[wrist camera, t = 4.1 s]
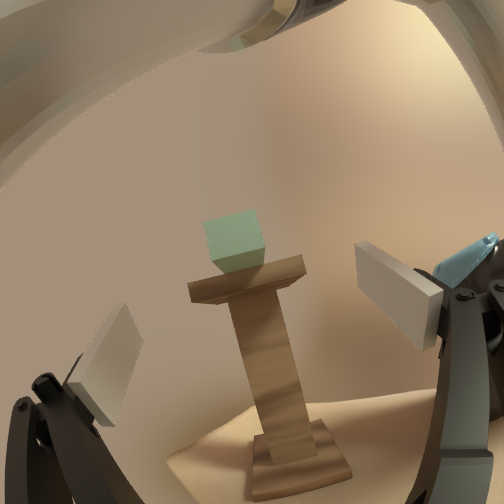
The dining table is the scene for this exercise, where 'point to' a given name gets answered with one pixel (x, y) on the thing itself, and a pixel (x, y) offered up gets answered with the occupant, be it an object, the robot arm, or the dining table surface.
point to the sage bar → (235, 241)
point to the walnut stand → (274, 382)
